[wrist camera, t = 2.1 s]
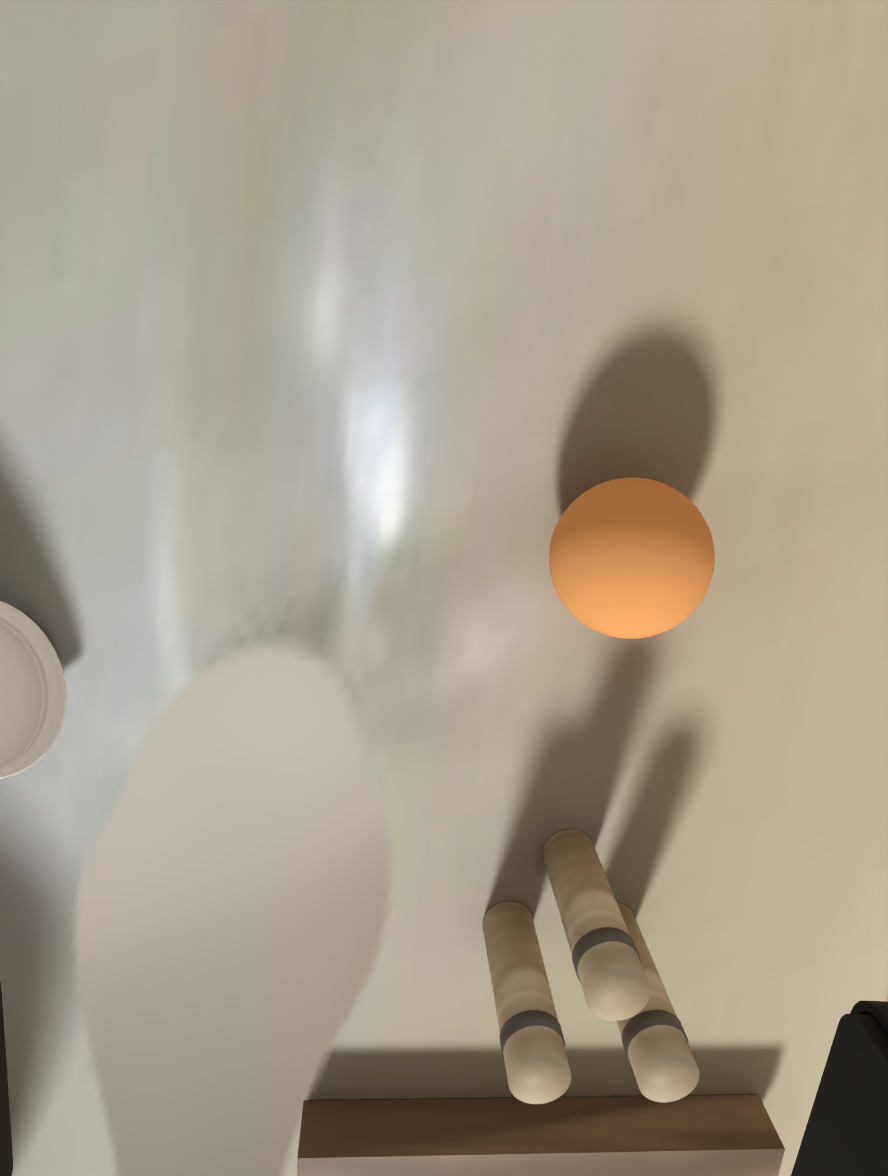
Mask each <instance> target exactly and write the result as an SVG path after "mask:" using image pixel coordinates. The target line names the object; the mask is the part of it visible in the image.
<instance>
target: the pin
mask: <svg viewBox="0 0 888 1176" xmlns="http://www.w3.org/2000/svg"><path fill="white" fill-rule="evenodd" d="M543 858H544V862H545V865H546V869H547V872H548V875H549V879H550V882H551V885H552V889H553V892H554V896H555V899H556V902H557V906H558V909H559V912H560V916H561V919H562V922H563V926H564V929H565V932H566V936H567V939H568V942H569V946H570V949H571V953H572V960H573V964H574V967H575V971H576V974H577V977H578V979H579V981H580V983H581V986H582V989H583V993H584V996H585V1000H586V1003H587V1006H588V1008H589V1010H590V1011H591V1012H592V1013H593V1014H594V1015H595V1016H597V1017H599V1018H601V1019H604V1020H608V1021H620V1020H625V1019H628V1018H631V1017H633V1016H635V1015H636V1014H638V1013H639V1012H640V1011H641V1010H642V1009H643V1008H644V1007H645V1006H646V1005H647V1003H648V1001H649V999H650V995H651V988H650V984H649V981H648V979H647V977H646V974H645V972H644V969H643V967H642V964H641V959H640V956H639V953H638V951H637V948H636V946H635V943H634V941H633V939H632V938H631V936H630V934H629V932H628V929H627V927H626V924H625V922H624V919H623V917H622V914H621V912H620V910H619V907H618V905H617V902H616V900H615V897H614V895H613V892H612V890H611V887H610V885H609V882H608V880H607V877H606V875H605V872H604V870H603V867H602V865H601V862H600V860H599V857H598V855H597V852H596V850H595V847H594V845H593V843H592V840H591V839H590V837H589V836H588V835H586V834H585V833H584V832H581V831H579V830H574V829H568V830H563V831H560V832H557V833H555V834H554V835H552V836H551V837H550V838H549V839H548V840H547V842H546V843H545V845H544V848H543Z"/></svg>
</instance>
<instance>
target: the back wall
mask: <svg viewBox="0 0 888 1176" xmlns="http://www.w3.org/2000/svg"><path fill="white" fill-rule="evenodd" d="M784 1150H785V1148H784V1146H783V1144H782V1142H781V1140H780V1138H779V1136H778V1134H777V1132H776V1130H775V1128H774V1126H773V1124H772V1122H771V1119H770V1117H769V1115H768V1113H767V1111H766V1109H765V1107H764V1105H763V1103H762V1101H761V1099H760V1097H759V1095H690V1096H685V1097H683V1098H681V1099H679V1100H676V1101H672V1102H656V1101H652V1100H650V1099H648V1098H646V1097H645V1096H615V1097H559V1098H557V1099H555V1100H553V1101H551V1102H548V1103H544V1104H529V1103H525V1102H522V1101H520V1100H518V1099H517V1098H464V1099H389V1100H314V1101H304V1103H303V1112H302V1122H301V1131H300V1140H299V1150H298V1164H297V1176H778V1174H779V1170H780V1166H781V1162H782V1158H783V1154H784Z"/></svg>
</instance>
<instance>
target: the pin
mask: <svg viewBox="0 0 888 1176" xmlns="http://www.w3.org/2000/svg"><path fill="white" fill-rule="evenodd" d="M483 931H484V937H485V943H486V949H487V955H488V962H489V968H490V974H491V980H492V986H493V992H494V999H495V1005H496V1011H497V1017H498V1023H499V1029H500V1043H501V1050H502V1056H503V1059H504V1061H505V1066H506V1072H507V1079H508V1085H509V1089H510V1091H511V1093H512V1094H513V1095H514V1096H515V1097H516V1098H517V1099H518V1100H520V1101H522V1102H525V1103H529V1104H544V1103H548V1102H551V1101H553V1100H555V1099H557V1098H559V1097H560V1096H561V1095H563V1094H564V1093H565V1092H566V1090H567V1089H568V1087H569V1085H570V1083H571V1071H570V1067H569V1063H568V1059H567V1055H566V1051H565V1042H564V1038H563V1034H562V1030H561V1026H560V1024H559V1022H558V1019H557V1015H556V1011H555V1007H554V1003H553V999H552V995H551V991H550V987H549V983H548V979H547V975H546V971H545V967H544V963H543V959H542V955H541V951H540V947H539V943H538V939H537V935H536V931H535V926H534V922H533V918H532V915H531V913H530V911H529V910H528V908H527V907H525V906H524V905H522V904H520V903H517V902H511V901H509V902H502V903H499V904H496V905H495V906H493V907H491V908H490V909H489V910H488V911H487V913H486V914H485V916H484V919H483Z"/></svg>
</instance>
